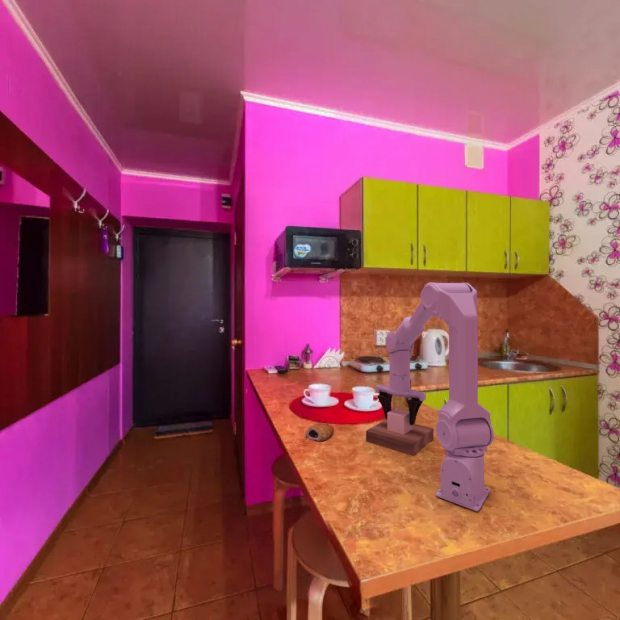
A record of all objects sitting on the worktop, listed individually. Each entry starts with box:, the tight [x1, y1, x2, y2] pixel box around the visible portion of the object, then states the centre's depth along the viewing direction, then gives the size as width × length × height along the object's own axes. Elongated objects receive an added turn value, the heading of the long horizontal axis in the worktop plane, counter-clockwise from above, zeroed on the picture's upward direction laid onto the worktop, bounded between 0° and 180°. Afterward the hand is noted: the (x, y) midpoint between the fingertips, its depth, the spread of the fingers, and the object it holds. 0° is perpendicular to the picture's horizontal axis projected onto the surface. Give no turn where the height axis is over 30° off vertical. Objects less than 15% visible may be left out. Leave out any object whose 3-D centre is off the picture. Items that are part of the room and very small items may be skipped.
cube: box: [387, 409, 412, 435], centre depth 93 cm, size 5×5×5 cm
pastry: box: [304, 422, 335, 442], centre depth 97 cm, size 9×7×4 cm
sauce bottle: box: [392, 378, 412, 411], centre depth 112 cm, size 6×6×20 cm
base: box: [365, 419, 434, 456], centre depth 93 cm, size 14×14×3 cm
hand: (399, 421), depth 93 cm, fingers open, 7 cm apart
